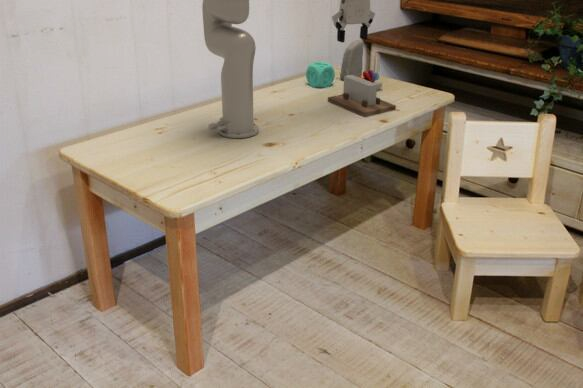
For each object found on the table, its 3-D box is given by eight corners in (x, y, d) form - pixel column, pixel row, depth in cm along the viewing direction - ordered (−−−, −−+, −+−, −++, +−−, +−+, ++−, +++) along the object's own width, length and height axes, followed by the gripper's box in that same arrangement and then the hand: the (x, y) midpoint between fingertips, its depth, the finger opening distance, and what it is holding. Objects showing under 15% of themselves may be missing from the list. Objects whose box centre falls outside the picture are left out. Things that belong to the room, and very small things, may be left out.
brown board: (364, 117, 210) (365, 107, 209) (327, 101, 225) (328, 91, 223) (395, 109, 218) (396, 99, 216) (358, 94, 232) (358, 85, 231)
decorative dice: (320, 80, 248) (321, 60, 245) (334, 85, 243) (335, 65, 239) (305, 84, 244) (305, 63, 240) (319, 89, 238) (319, 68, 235)
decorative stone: (349, 82, 247) (351, 44, 240) (336, 79, 250) (338, 41, 243) (363, 76, 255) (366, 39, 248) (351, 73, 258) (353, 37, 251)
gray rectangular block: (367, 106, 216) (369, 86, 213) (343, 95, 227) (344, 76, 224) (375, 104, 218) (377, 84, 215) (351, 93, 228) (352, 74, 225)
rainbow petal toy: (351, 87, 241) (352, 68, 238) (373, 84, 245) (374, 66, 242) (363, 93, 234) (364, 74, 231) (385, 90, 238) (386, 71, 235)
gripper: (341, -10, 198) (338, 45, 205) (383, -13, 207) (379, 40, 214) (327, -13, 203) (324, 40, 211) (368, -16, 212) (364, 36, 220)
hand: (352, 40), depth 212 cm, fingers open, 9 cm apart
